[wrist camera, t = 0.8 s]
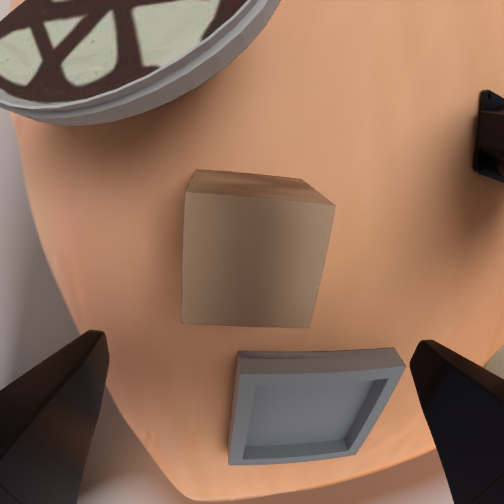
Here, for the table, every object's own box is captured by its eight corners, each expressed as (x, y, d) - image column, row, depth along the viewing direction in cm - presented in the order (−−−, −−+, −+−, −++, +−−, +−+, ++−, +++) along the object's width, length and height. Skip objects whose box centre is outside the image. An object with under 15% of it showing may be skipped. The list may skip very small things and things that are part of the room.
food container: (97, 160, 17) (-8, 206, 7) (60, 73, 14) (-56, 56, 5) (295, 71, 16) (377, 25, 7) (254, -17, 13) (287, -120, 4)
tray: (393, 347, 24) (406, 365, 22) (349, 437, 29) (355, 454, 27) (238, 351, 23) (240, 373, 20) (227, 445, 28) (228, 465, 25)
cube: (301, 178, 18) (335, 205, 13) (286, 272, 21) (309, 327, 15) (196, 169, 18) (185, 192, 12) (191, 266, 20) (181, 323, 14)
